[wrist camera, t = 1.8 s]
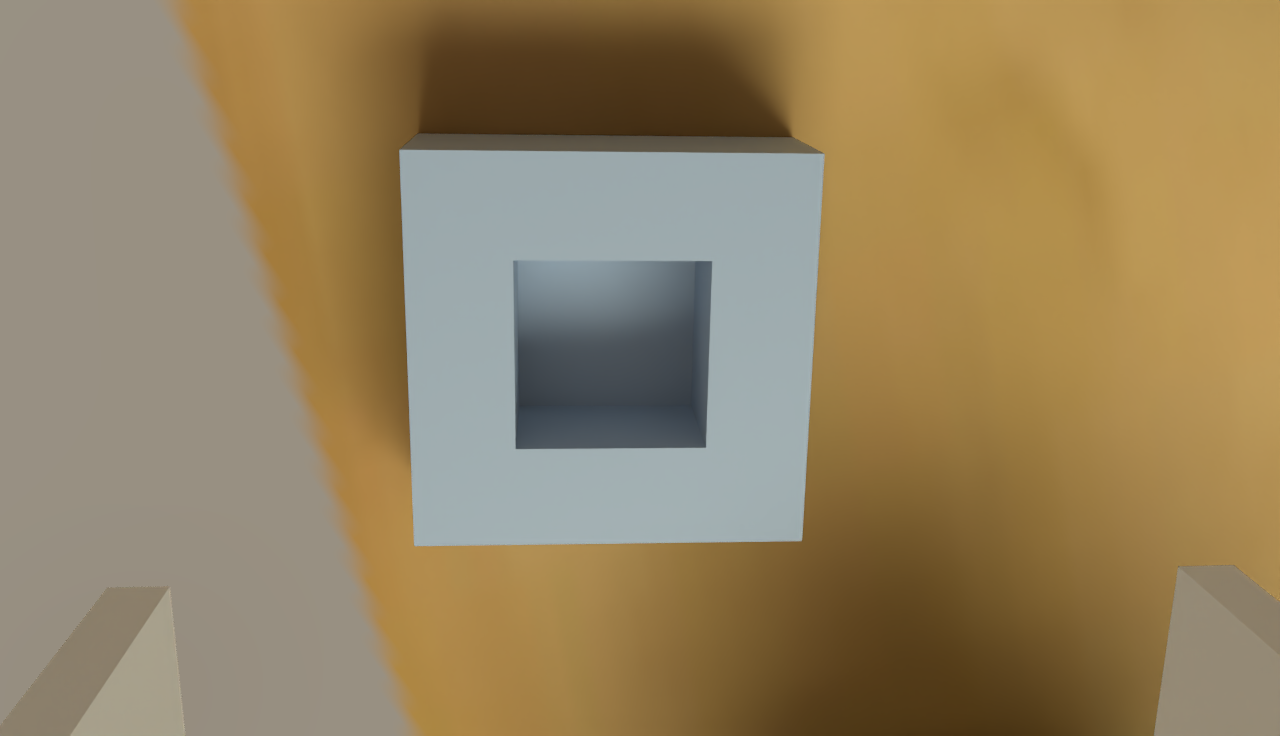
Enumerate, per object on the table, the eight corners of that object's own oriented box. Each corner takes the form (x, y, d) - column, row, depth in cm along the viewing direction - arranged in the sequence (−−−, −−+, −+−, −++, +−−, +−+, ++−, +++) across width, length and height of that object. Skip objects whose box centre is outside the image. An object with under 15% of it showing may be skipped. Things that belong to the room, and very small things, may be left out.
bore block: (417, 133, 32) (399, 149, 28) (793, 137, 33) (824, 153, 29) (429, 487, 35) (414, 545, 31) (775, 484, 36) (801, 541, 32)
